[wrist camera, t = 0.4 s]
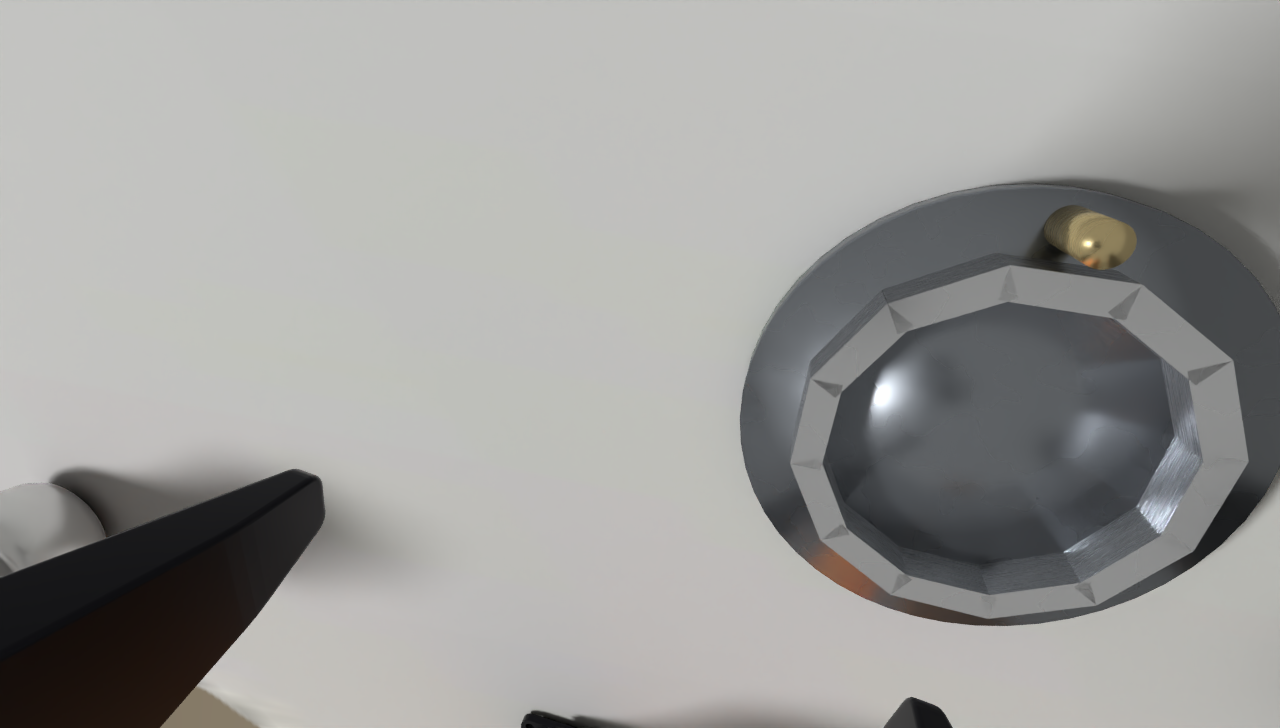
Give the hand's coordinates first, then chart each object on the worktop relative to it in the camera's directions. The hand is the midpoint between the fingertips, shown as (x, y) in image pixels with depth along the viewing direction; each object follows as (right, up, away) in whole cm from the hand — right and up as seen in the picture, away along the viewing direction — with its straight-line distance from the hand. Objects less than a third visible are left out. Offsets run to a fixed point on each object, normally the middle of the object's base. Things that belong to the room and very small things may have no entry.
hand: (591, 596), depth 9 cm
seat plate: (+12, +1, +12) cm, 17 cm away
